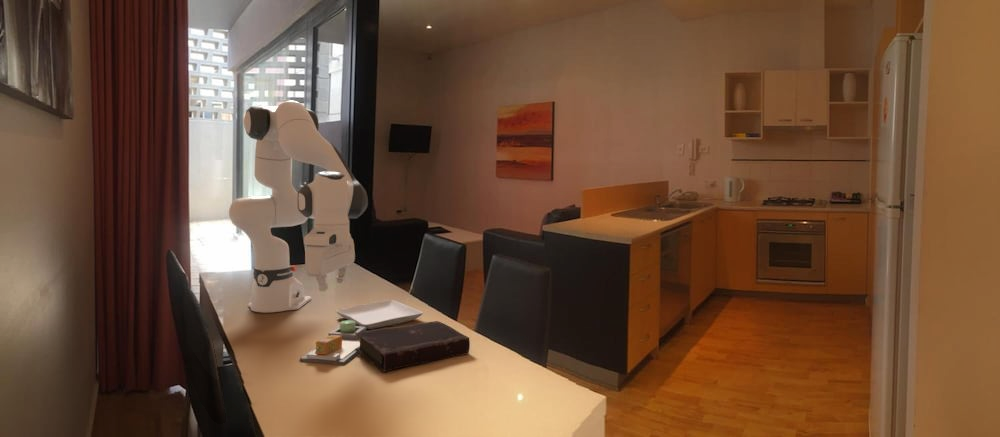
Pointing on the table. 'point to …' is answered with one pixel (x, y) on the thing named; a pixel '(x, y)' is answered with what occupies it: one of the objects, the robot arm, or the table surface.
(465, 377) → the table surface
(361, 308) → the salad plate
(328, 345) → the supplement box
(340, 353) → the clipboard
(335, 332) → the button bezel
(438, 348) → the diary
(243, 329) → the table surface
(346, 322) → the button
